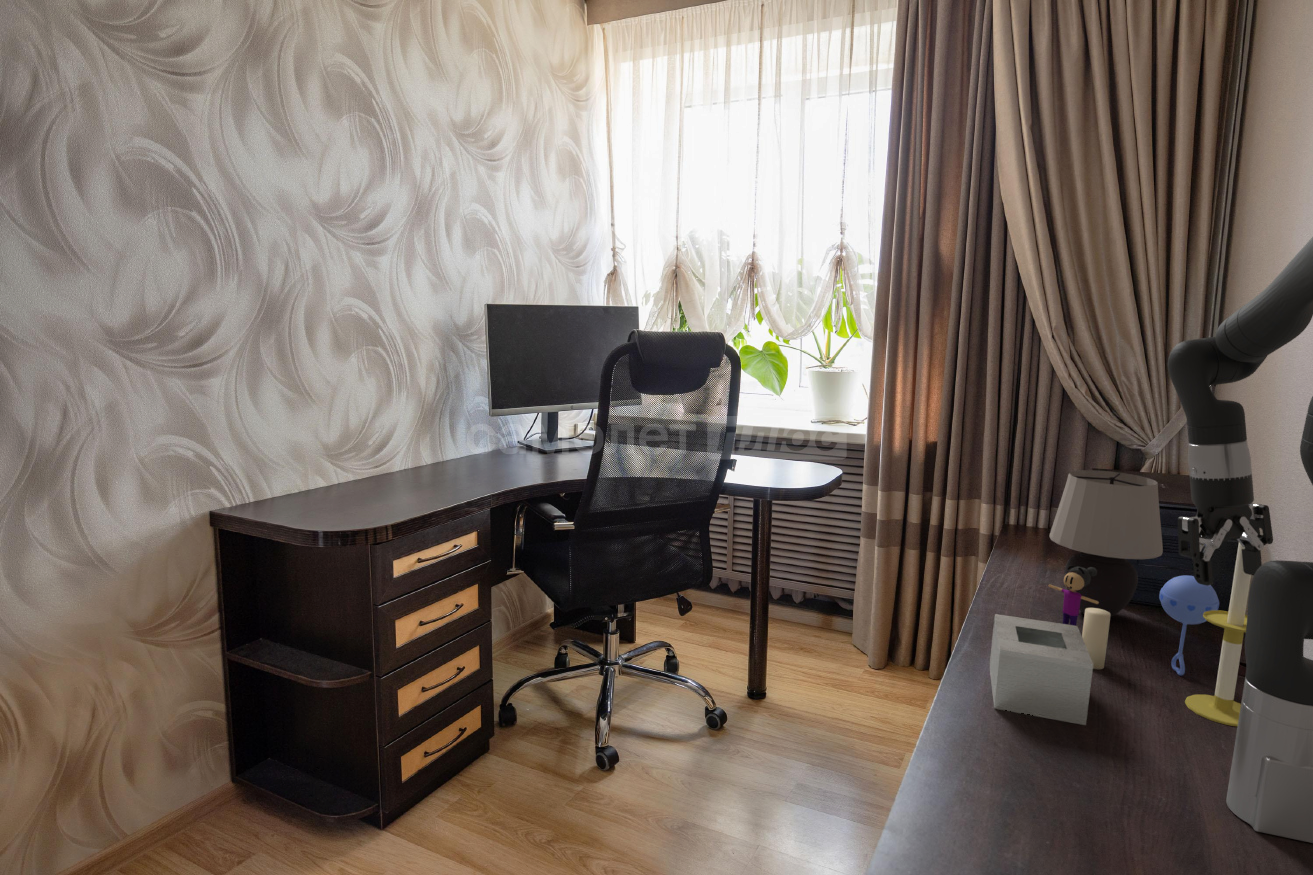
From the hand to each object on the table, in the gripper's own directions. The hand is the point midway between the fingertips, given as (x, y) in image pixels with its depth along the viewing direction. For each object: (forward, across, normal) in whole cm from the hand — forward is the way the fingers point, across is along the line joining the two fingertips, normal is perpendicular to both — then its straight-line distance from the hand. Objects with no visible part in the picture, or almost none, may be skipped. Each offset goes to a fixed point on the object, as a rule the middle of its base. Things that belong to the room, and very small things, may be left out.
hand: (1228, 579), depth 116 cm
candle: (+24, +4, +7) cm, 26 cm away
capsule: (+21, -4, +25) cm, 33 cm away
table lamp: (+21, +15, +46) cm, 53 cm away
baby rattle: (+23, +8, +20) cm, 32 cm away
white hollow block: (+19, -22, +17) cm, 34 cm away
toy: (+20, 0, +36) cm, 41 cm away
